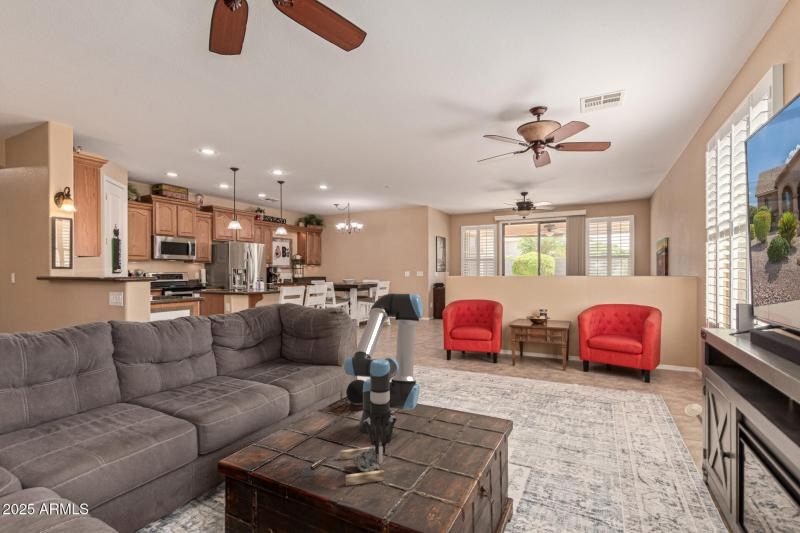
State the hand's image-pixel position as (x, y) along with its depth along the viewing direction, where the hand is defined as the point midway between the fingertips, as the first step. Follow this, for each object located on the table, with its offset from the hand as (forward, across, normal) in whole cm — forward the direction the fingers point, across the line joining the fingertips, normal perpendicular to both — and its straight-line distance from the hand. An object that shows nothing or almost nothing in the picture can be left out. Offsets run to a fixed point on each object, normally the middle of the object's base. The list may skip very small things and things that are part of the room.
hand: (380, 461), depth 148 cm
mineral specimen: (+2, +6, 0) cm, 6 cm away
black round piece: (+2, -1, -63) cm, 63 cm away
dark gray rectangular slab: (+2, +27, -1) cm, 27 cm away
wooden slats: (+2, +7, 0) cm, 7 cm away
